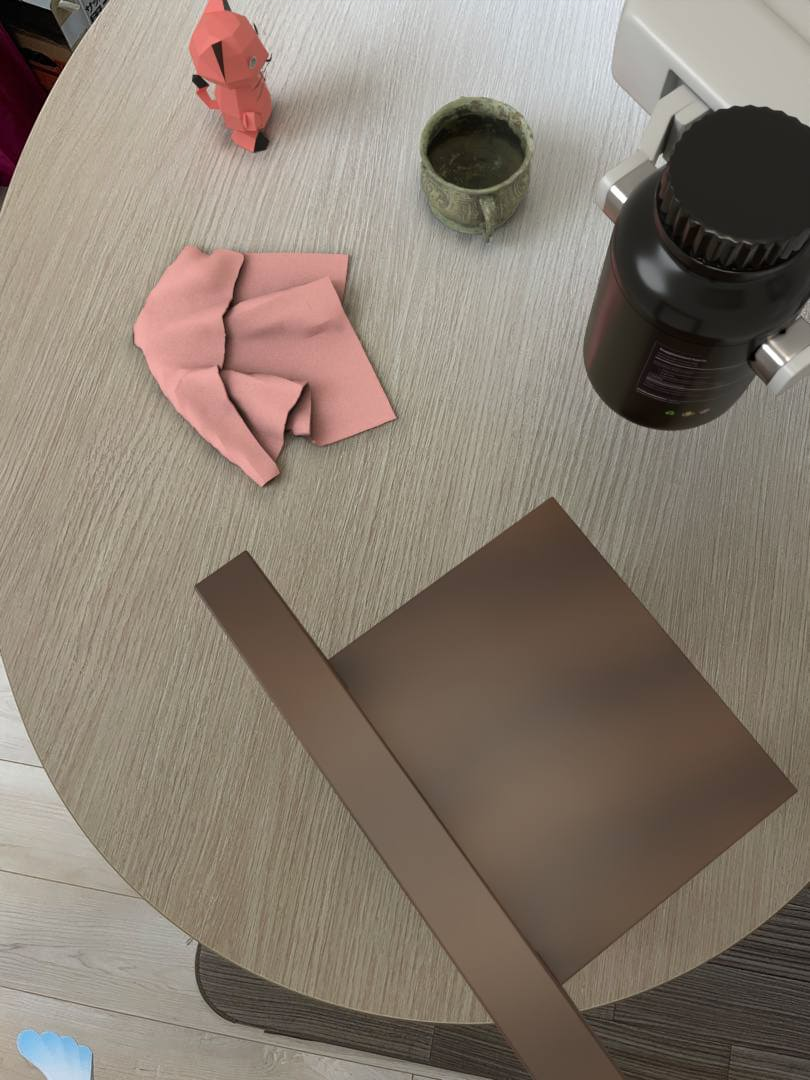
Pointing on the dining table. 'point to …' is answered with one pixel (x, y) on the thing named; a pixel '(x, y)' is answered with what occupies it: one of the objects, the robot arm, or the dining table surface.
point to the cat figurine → (232, 72)
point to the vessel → (475, 163)
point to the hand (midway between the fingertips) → (686, 288)
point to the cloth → (259, 353)
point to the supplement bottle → (703, 270)
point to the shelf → (517, 762)
